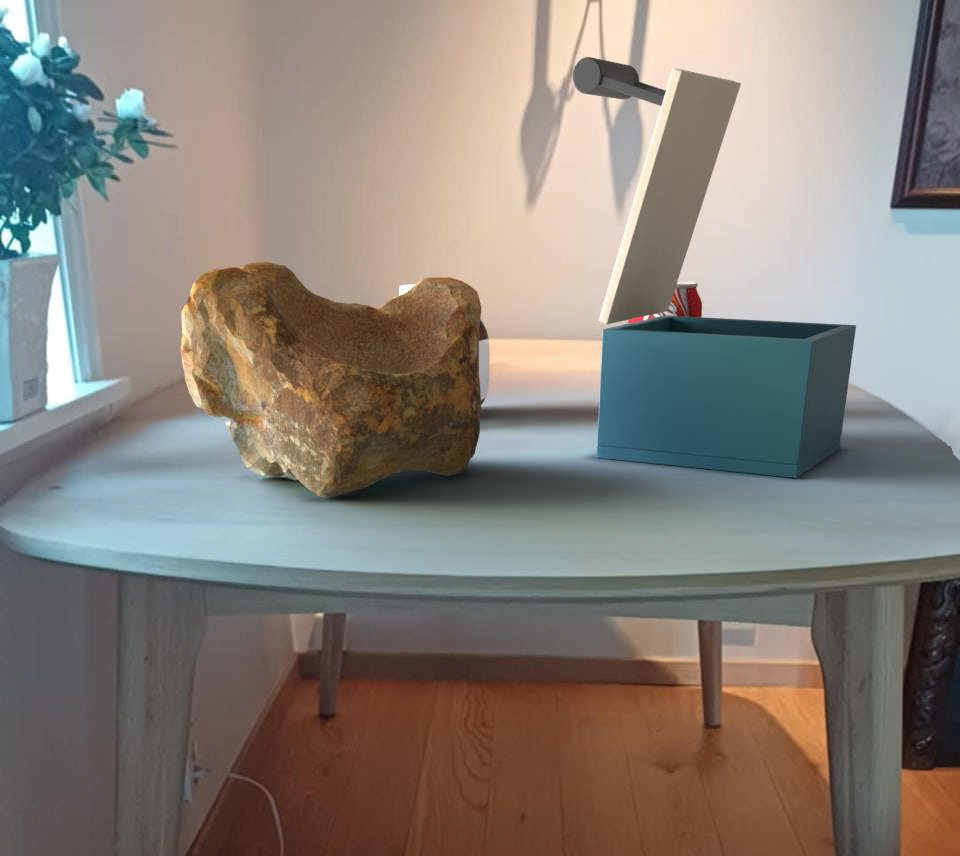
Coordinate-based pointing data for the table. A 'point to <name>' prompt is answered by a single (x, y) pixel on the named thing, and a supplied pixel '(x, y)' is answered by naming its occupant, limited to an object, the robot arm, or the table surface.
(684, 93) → the cooler lid
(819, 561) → the table surface
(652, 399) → the box
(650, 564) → the table surface
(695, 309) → the soda can
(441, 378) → the rough brown rock
